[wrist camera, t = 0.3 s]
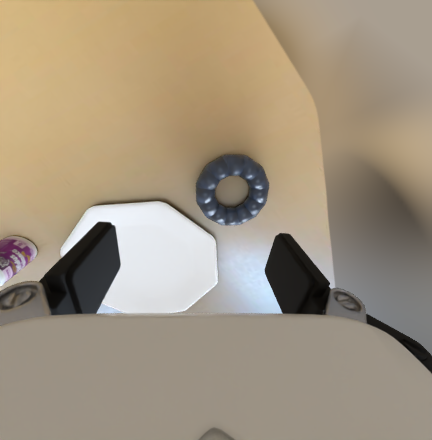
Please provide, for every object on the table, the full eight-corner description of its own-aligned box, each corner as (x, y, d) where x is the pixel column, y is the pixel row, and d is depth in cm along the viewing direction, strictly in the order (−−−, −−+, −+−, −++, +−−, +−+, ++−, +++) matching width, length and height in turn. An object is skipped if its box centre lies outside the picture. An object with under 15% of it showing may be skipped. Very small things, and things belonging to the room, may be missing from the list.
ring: (195, 152, 28) (194, 156, 25) (270, 153, 29) (277, 157, 26) (197, 220, 33) (196, 229, 30) (259, 219, 34) (264, 227, 31)
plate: (119, 164, 27) (115, 166, 26) (243, 255, 38) (245, 260, 37) (45, 273, 36) (39, 279, 34) (164, 323, 46) (164, 329, 45)
